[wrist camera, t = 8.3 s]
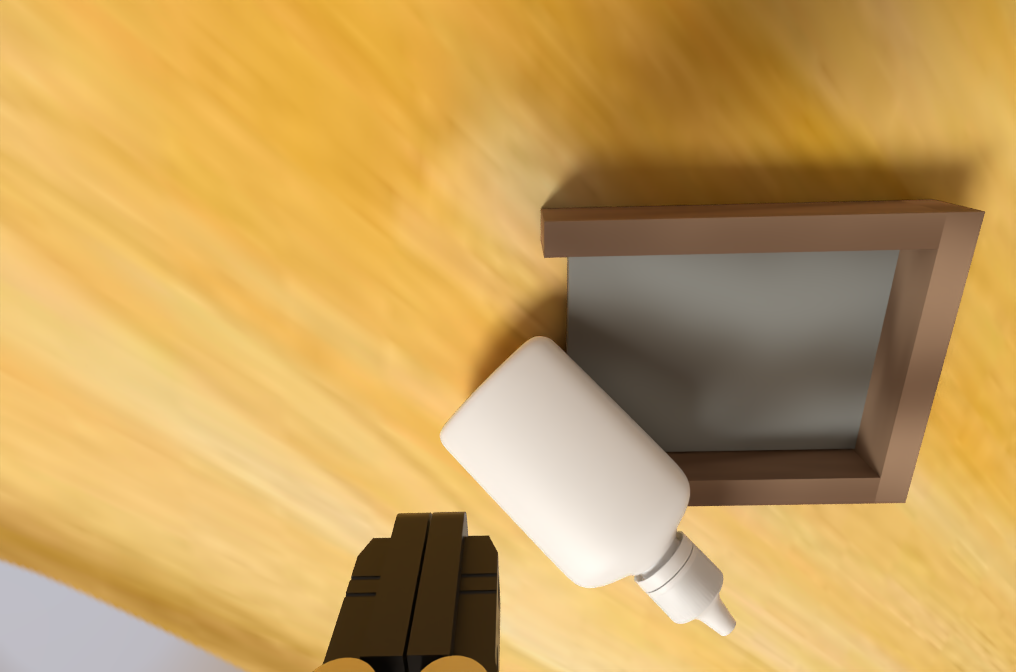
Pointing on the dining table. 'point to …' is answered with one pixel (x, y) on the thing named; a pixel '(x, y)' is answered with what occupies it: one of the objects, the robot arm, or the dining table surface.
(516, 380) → the eye dropper bottle
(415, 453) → the dining table surface
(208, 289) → the dining table surface
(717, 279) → the u rest
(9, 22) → the dining table surface
